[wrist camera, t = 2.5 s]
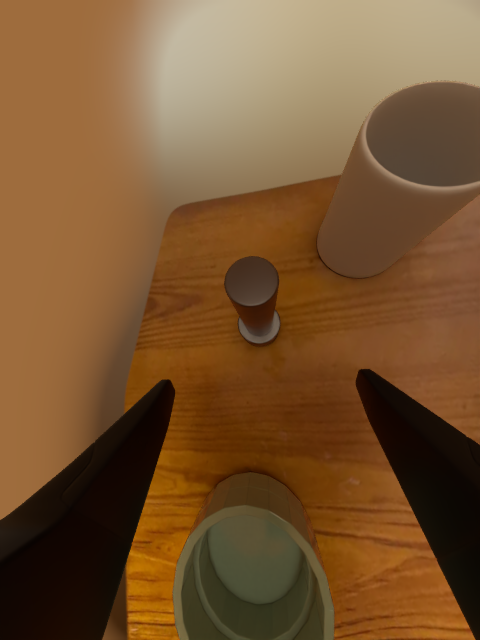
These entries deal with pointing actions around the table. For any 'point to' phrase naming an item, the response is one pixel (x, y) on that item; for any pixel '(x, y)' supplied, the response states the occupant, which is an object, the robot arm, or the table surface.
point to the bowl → (252, 568)
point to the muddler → (254, 299)
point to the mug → (403, 176)
